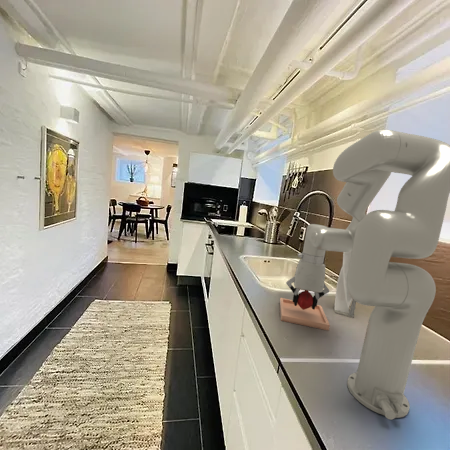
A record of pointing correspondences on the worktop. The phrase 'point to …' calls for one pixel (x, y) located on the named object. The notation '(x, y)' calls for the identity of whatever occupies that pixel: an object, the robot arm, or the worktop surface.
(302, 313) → the dish
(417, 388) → the worktop surface
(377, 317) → the robot arm
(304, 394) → the worktop surface
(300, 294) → the red round fruit
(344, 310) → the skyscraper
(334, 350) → the worktop surface
